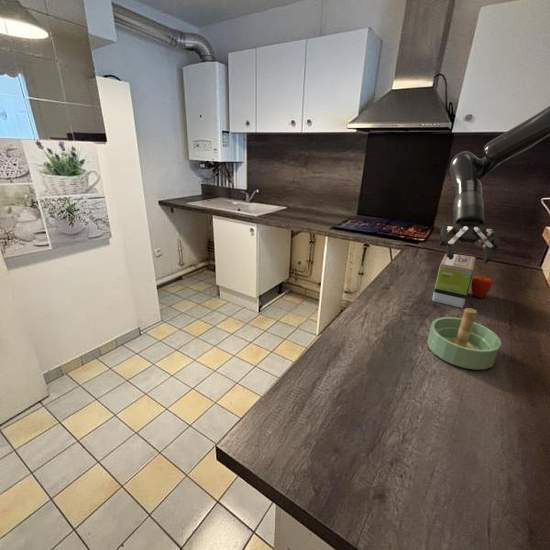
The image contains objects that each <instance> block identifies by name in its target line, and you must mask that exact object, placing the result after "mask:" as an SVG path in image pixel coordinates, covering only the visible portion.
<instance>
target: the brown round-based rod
mask: <svg viewBox="0 0 550 550" xmlns="http://www.w3.org/2000/svg"><path fill="white" fill-rule="evenodd" d="M477 313H478V312H477V310H476V309H474V308H471V307H466V308H464V310H463V314H462V317H461V319H462V320H461V324H460V327H459V330H458V334H457V337H456V338H451V339H449V340H448V341H450V342H452V343H455V344H457V345H460V346H463V347H467V348H471V349H474V348H473V346H472V345H471V344H470V343H468V339H469V335H470V332H471V329H472V326H473V323H474V322H475V319H476V316H477Z"/></svg>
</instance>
